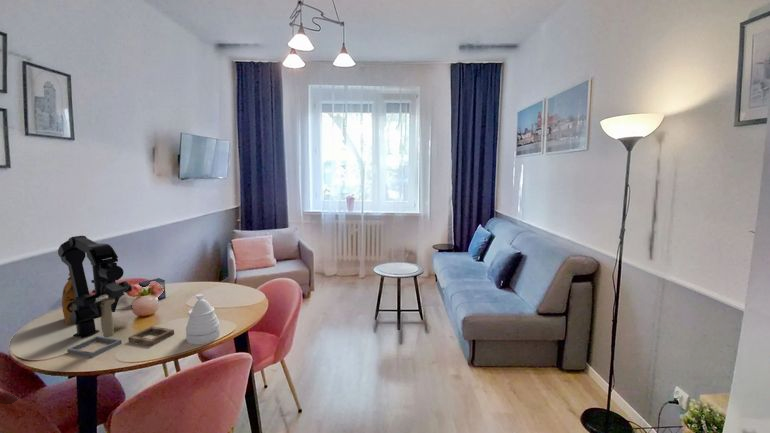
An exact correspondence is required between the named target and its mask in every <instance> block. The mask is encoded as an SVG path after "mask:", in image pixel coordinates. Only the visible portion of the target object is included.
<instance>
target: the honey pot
mask: <svg viewBox="0 0 770 433" xmlns="http://www.w3.org/2000/svg"><path fill="white" fill-rule="evenodd" d="M203 296H204V294H202V293H200V294H199V293H198V294H196V295H195V297H196V299H197V301H196V302H195V304H194V306H193V307H192V308H191V309H190V310H188V312H187V315H188V316H189V318H188V320H187V325H186V327H185V334H186V335H185V336H186V339H185V340H186V342H187V343H189V344H191V345H203V344H207V343H211V342H213V341H215V340H218V338H219V337H220V336H221V326H220V321H219V319H218V317H217V314H216V313H215V307H214V306H211V304H210V302H208V301H207V300H206V299H204V298H203Z"/></svg>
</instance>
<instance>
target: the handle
mask: <svg viewBox="0 0 770 433" xmlns="http://www.w3.org/2000/svg"><path fill="white" fill-rule="evenodd" d="M99 301H102V303H101V305H100V306H101V317H100V327H101V332H102V334H103V335H102V337H107V338H111V337H113V336H114V334H115V331H114V330H115V323H114V321H115V320H114V316H113V312H112V310H111V304H113V303H114V302H115V298H108V297H105V298H104V297H103V298H99Z"/></svg>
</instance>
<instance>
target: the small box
mask: <svg viewBox="0 0 770 433" xmlns="http://www.w3.org/2000/svg"><path fill="white" fill-rule="evenodd" d="M151 281H156V282H158V283H159V284H160V285H162V287H163V289H164V291H163V293H162V294H161V295H160V296H159V297H158V299H159V300H163V299H166V298H167V297H166V296H167V295H166V280H165V279H162V278H159V277H158V278H154V279H149V280H145V281H141V282H138V286H139V285H140V286H142V287H146V286H148V285H149V284H150V282H151ZM159 300H158V301H159Z"/></svg>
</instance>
